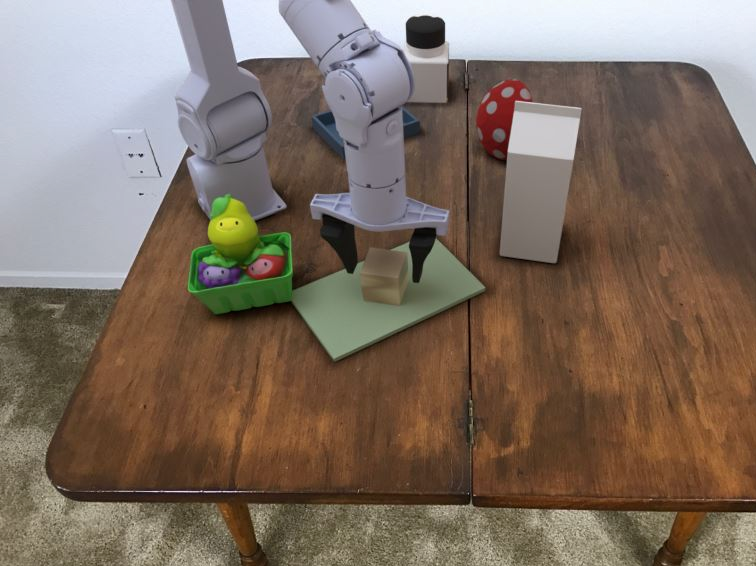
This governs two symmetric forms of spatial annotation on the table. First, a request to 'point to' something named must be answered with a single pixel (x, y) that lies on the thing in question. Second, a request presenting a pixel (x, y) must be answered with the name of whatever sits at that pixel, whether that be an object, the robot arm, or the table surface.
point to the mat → (378, 320)
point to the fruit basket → (240, 262)
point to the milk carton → (538, 179)
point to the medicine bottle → (428, 58)
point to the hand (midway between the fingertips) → (384, 272)
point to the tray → (328, 131)
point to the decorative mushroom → (499, 116)
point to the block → (384, 276)
